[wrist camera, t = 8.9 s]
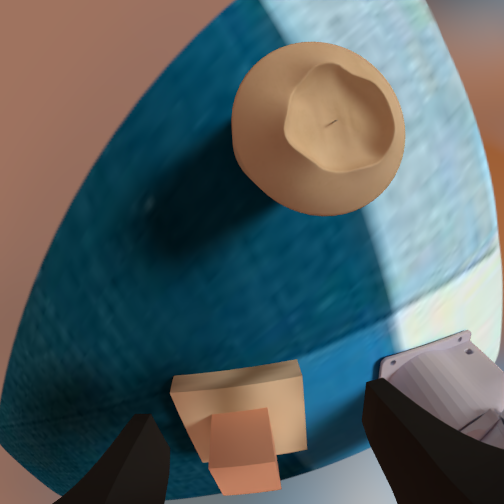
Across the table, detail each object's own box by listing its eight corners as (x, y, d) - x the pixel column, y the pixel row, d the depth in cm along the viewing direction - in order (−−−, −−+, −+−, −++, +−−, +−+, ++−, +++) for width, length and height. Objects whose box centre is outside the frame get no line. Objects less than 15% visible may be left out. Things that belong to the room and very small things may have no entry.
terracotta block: (267, 407, 19) (275, 461, 15) (273, 439, 21) (281, 489, 16) (211, 414, 19) (208, 468, 15) (223, 445, 20) (223, 495, 16)
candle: (245, 200, 17) (261, 249, 8) (222, 107, 16) (207, 39, 6) (337, 179, 17) (443, 204, 8) (316, 89, 15) (402, 23, 6)
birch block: (295, 354, 21) (302, 375, 19) (301, 429, 24) (307, 449, 21) (174, 371, 21) (169, 392, 19) (204, 441, 24) (202, 462, 21)
